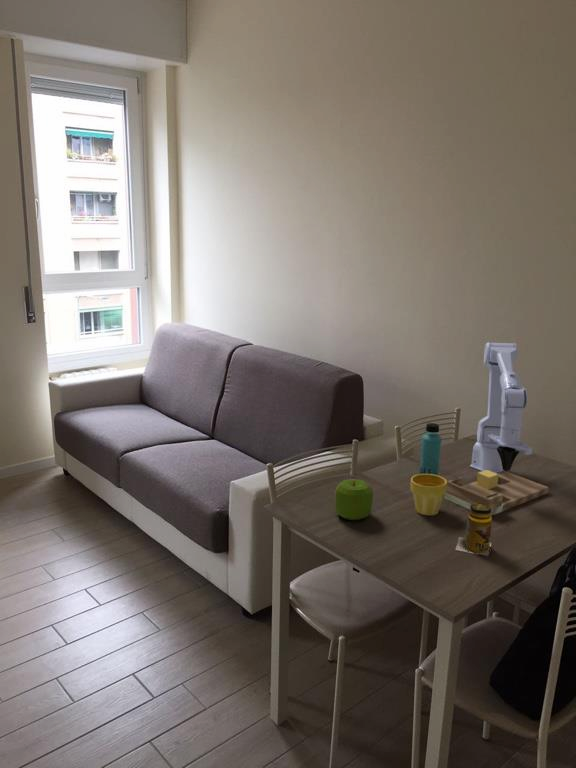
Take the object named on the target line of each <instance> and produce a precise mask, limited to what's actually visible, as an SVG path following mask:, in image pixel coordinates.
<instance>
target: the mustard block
mask: <svg viewBox="0 0 576 768" xmlns="http://www.w3.org/2000/svg"><path fill="white" fill-rule="evenodd" d="M498 475H499V474H498V473H494V472H491V471H489V470H485V471H479V472H477V475H476V481H477V485H479V486H481V487H483V488H486V489H491V488H494V487H496V486H497V485H498Z"/></svg>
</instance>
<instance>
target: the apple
mask: <svg viewBox="0 0 576 768" xmlns="http://www.w3.org/2000/svg"><path fill="white" fill-rule="evenodd" d="M373 499H374V493H373V488H372V487H371V486H370V485H369V484H368V483H367V482H366V481H365V480H361V479H357V478H356V479H355V478H353V479H352V478H347V479H344V480H342V481H341V482H339V483H338V484H337V485H336V487H335V491H334V507H335V513H336V514H337V515H339V516H340V517H341V518H342V519H344V520H347V519H348V520H347V521H358V520H361V519H364V518H367V517H368V516H369V515H370V514H371V512H372V507H373Z"/></svg>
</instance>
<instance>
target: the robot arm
mask: <svg viewBox="0 0 576 768" xmlns="http://www.w3.org/2000/svg"><path fill="white" fill-rule="evenodd" d="M518 356H519V347H518V345H517V343H516V342H513V343H510V342H509V343H506V342H486V343H485V344H484V351H483V366H485V367H486V368H488V372H489V376H488V377H489V378H488V380H489V381H488V396H487V397H488V399H487V415H486V416H484V417H483V418H481V419H480V420H479V421H478V422H477V423H478V425H477V432H476V439H477V441H476V442H475V444H474V445H473V447H472V454H471V464H470V465H469V466H470V467H471V468H473V469H475V470H478V471H480V472H482V471H485V470H489V471H491V472H494V473H496V474H498V473H501V472H504V471H507V472H509V471H511V468H512V466H513V464H514V461H515V460H516V458H517V457H518V455H519V453H524V455H526V456H529V455H532V454H533V447H531V446H529V445H527V444H525V443H523V442H521V441H520V440H521V430H522V421H523V414H524V413H523V412H524V409H525V408H526V406H527V403H528V394H527V389H526V388H524V386H522V384H521V379H520V375H519V374H518V372H515V367H514V366H515V365H514V364H515V363H516V361H517V360H518Z"/></svg>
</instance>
